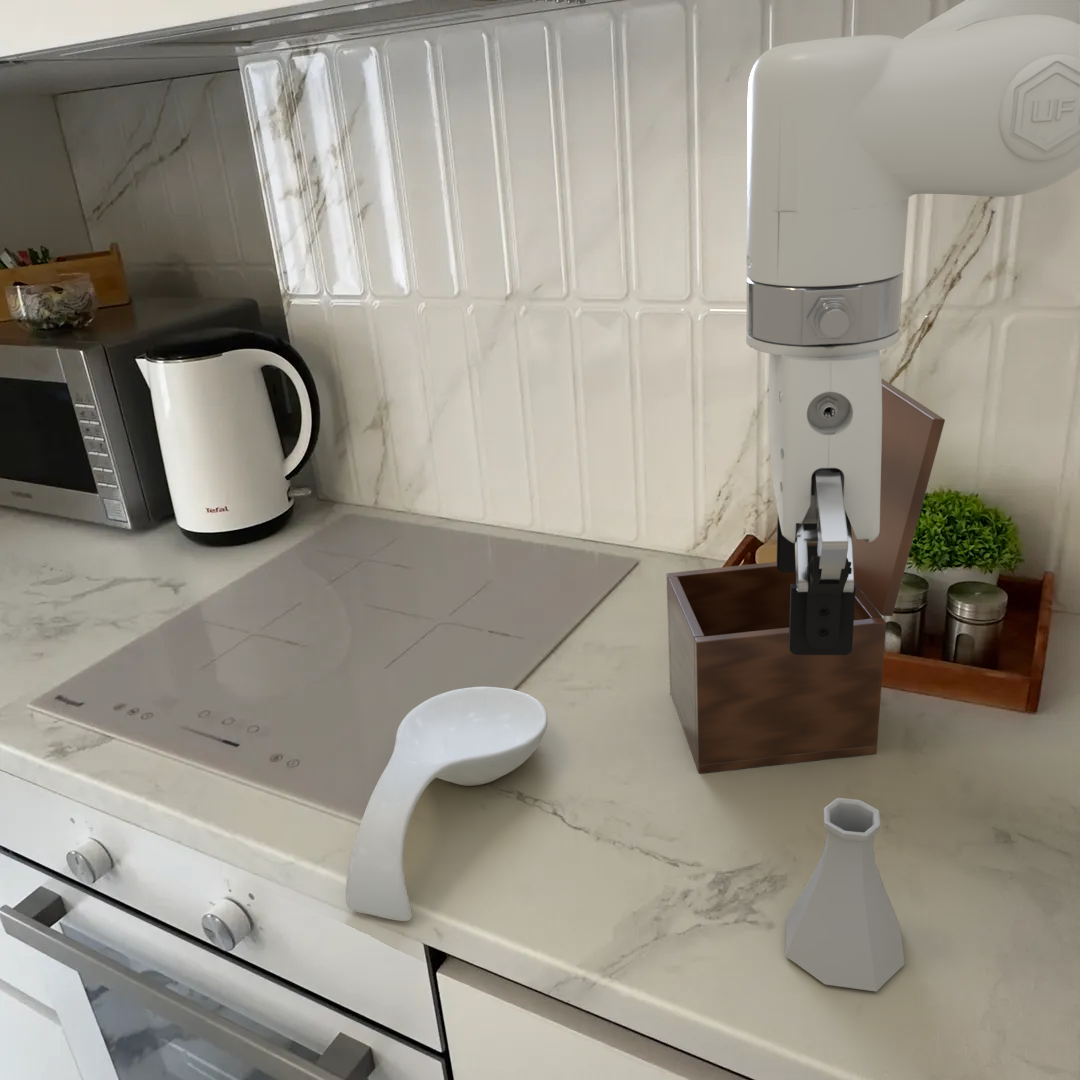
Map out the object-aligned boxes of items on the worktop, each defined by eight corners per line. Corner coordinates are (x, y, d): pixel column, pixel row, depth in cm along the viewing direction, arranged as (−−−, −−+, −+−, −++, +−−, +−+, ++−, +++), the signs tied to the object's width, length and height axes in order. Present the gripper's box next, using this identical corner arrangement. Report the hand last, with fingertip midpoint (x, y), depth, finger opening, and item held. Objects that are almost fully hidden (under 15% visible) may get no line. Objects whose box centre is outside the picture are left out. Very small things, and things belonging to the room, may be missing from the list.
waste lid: (933, 418, 65) (945, 419, 65) (868, 374, 76) (878, 375, 76) (881, 616, 71) (892, 616, 71) (827, 550, 82) (837, 550, 82)
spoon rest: (441, 710, 87) (431, 641, 84) (568, 726, 83) (561, 653, 80) (304, 907, 66) (284, 824, 63) (464, 939, 63) (450, 853, 60)
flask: (919, 925, 61) (932, 797, 57) (888, 1013, 55) (900, 878, 51) (804, 885, 64) (810, 762, 60) (765, 964, 59) (768, 834, 55)
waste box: (698, 773, 76) (696, 642, 71) (669, 691, 86) (666, 572, 82) (876, 753, 76) (886, 622, 71) (826, 674, 87) (832, 555, 82)
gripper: (936, 349, 41) (906, 692, 48) (872, 276, 56) (857, 544, 64) (754, 357, 42) (751, 690, 49) (740, 283, 58) (739, 545, 65)
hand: (810, 608), depth 56 cm, fingers open, 9 cm apart
